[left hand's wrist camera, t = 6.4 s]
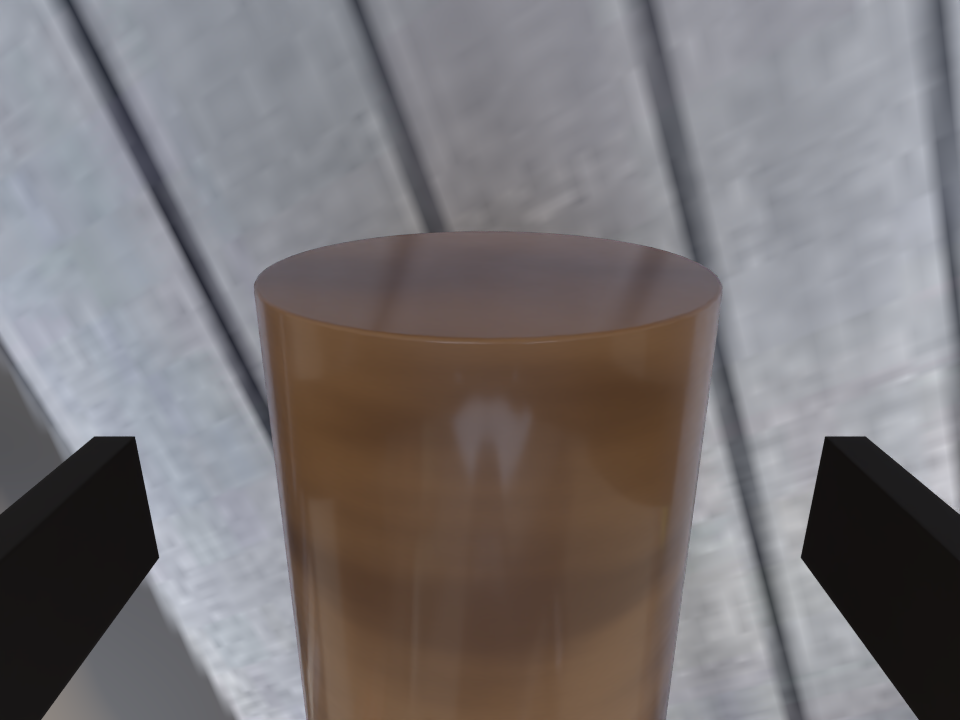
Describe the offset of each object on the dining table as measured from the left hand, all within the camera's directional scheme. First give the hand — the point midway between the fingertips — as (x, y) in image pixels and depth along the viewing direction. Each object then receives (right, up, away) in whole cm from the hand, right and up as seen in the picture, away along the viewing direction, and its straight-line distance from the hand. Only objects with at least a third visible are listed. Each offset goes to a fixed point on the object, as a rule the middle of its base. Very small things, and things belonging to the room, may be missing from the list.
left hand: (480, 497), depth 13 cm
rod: (0, -5, +9) cm, 10 cm away
